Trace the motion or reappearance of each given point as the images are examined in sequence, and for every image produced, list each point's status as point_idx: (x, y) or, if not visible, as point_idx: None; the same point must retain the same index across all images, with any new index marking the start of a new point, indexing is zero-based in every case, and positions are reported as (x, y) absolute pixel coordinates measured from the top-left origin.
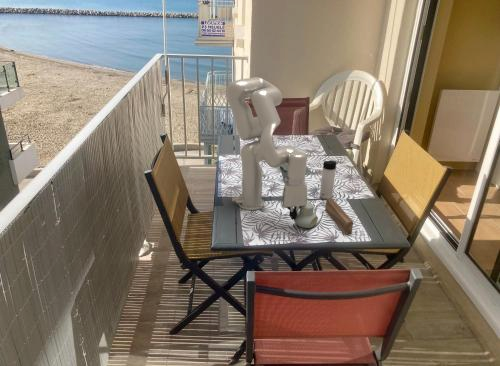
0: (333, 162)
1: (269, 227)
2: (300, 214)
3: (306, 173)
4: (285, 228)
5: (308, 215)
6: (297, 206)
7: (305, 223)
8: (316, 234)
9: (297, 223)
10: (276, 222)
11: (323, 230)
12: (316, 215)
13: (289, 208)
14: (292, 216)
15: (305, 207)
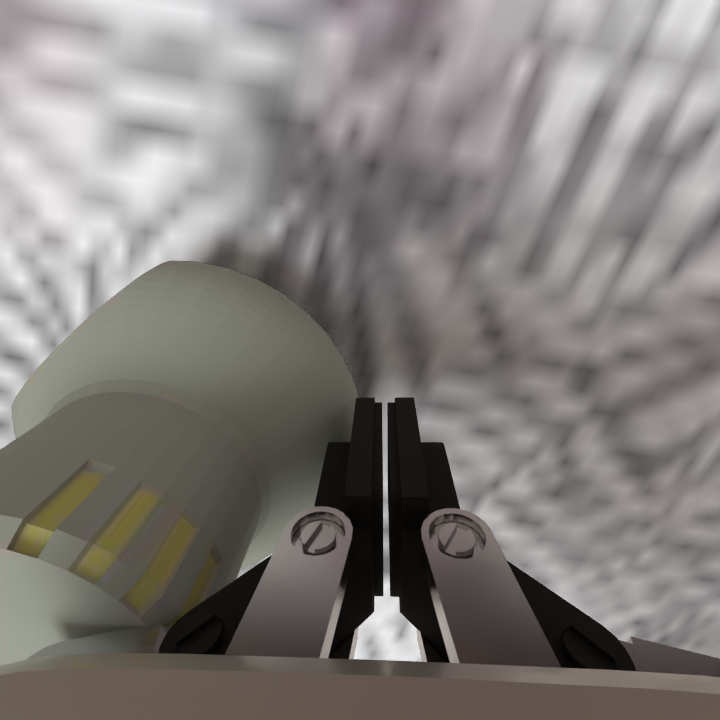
0: None
1: (649, 397)
2: (257, 468)
3: None
4: (477, 349)
5: (113, 399)
6: (298, 646)
7: (223, 284)
8: (126, 148)
9: (337, 349)
10: (524, 471)
11: (31, 233)
12: (14, 432)
13: (534, 610)
14: (418, 433)
15: (63, 575)
